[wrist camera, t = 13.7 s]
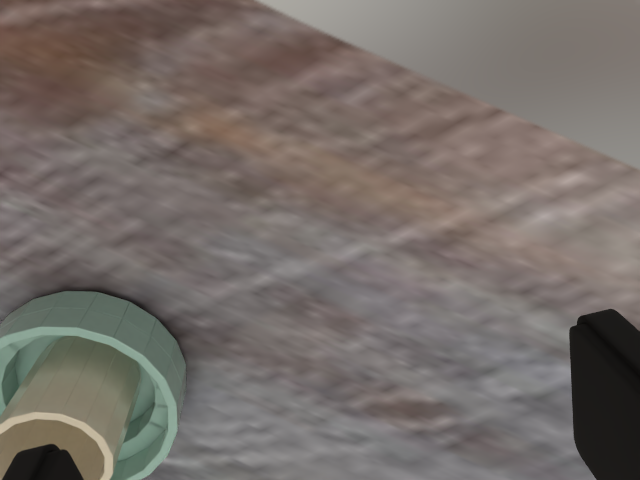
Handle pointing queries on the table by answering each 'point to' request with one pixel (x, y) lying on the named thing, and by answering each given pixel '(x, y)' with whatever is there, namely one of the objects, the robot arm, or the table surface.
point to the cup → (73, 405)
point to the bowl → (124, 335)
